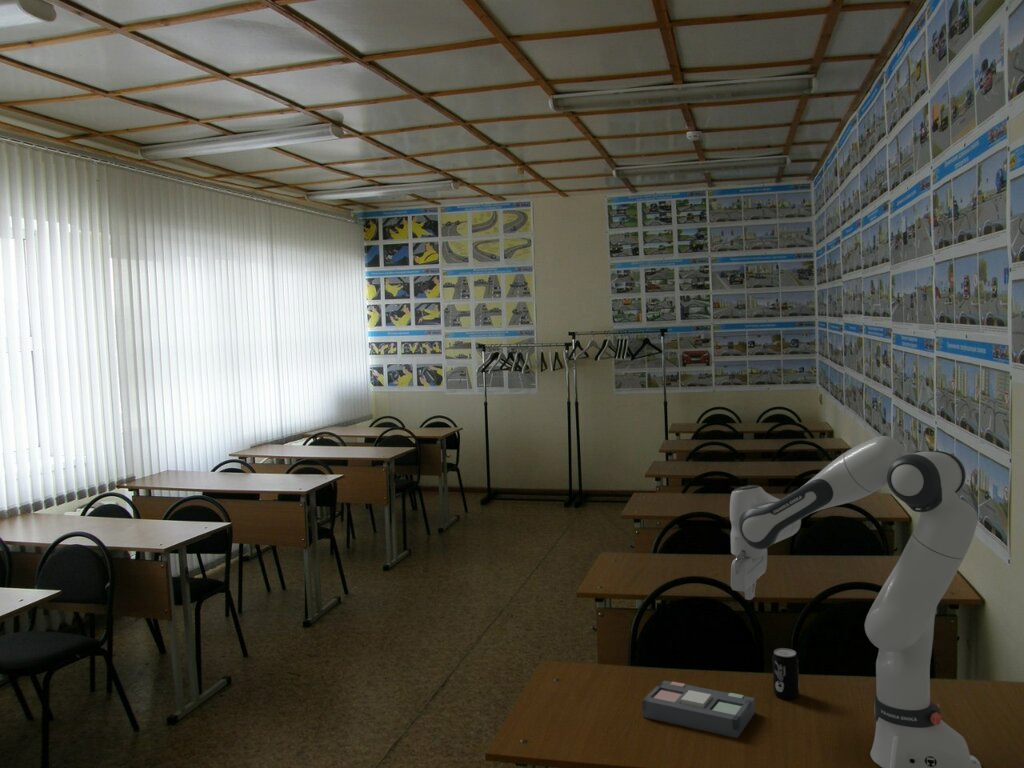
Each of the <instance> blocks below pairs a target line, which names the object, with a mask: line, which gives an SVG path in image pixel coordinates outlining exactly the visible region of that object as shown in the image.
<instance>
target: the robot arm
mask: <svg viewBox="0 0 1024 768" xmlns="http://www.w3.org/2000/svg"><path fill="white" fill-rule="evenodd" d="M966 477H967V474H966V469H965V466H964V464H963V462H962V461H961V460H960V459H959V458H958V457H956V456H955V455H953V454H952V453H949V452H945V451H942V450H941V451H940V450H916V451H914V452H913V453H911V452H909V451H907V450H906V449H905V447H904V446H903V445H902V444H901V443H900V441H898V440H897V439H896V438H893V437H891V436H888V435H880V436H876V437H874V438H871V439H869V440H866V441H864V442H862V443H861V442H860V444H857V445H856V446H854V447H851V448H850V449H848V450H847V451H845V452H844V453H841V455H839V456H838V457H836V458H835V459H833V460H832V461H831V462H830V463H828V464H827V465H826V466H825V467H824V468H823V469H822V470H820V471H818V473H817V474H816V475H814V476H813V477H812V478H811V479H809V480H808V481H807V482H806V483H805V484H803V485H802V486H800V487H799V488H797V489H796V490H794V491H792V492H791V493H789V494H788V495H786V496H784V497H782V498H777V497H775V496H773V495H772V494H770V493H768V492H766V491H765V490H764V488H763V487H761V486H760V485H754V484H752V485H750V484H749V485H745V486H740V487H737V488H735V489H734V490H732V491H731V494H730V501H729V521H730V524H731V530H730V553H731V555H733V556H735V558H734V559H733V560H732V563H731V565H730V566H731V567H730V587H731V590H732V591H736V592H744V599H745V600H748V601H751V600H753V598H754V597H755V596H756V595H755V594H756V592H755V591H756V587H757V586H756V585H757V580H758V579H759V578H761V576H762V575H764V574H765V573H766V571H767V567H768V548H769V547H770V546H772V545H774V544H776V543H779V542H781V541H783V540H786V539H788V538H790V537H792V536H795V534H797V533H798V532H799V531H800V529H801V526H802V519H803V518H805V517H807V516H809V515H810V514H813V513H815V512H818V511H822V510H825V509H828V508H829V509H830V508H832V507H833V508H834V507H838V506H841V505H846V504H849V503H852V502H855V501H858V500H861V499H863V498H867V496H869V495H872V494H873V493H875V492H877V491H879V490H880V489H882V488H884V487H886V486H888V488H889V490H890V491H891V493H892V494H893V495H894V496H895V497H896V498H898V499H899V500H900V501H902V502H903V503H905V505H907V506H908V507H909V508H910V509H911V510H912V511H914V512H916V513H920V514H919V519H918V521H917V523H916V525H915V527H914V529H913V531H912V533H911V535H910V537H909V538H908V541H907V543H906V545H905V547H904V549H903V551H902V553H901V555H900V557H899V559H898V561H897V562H896V564H895V566H894V568H893V569H892V571H891V573H890V574H889V575H888V577H887V579H886V580H885V582H884V584H883V585H882V587H881V589H880V591H879V592H878V594H877V596H876V597H875V600H874V602H873V603H872V604H871V607H870V608H869V611H868V613H867V614H866V618H865V621H864V631H865V635H866V636H867V638H868V639H869V642H871V644H873V646H874V647H876V648H878V653H877V657H876V661H875V675H876V676H875V678H876V679H875V680H876V681H875V683H876V694H875V696H874V701H873V705H874V707H873V709H874V718H875V722H876V723H875V731H874V732H875V733H874V737H873V738H874V739H873V743H872V746H871V747H872V748H871V750H870V757H871V759H872V761H873V762H874V763H875V764H876V765H878V766H879V767H881V768H982V764H981V763H980V760H979V759H977V757H975V756H974V755H971V754H970V749H969V745H968V743H967V741H966V739H965V738H964V737H963V735H961V734H960V733H959V732H957V731H956V730H955V729H954V728H952V727H951V726H950V725H948V724H947V723H946V722H944V721H943V720H942V715H941V713H942V711H941V705H940V703H939V702H937V704H935V703H934V702H933V701H931V680H930V679H931V678H930V677H931V675H930V674H931V672H930V671H931V661H932V660H931V659H932V653H933V651H932V650H933V642H934V634H935V633H934V632H935V630H934V629H935V628H934V627H935V618H936V611H937V610H936V608H937V607H938V606H939V604H940V601H941V600H942V598H944V596H945V594H946V592H947V591H948V589H949V587H950V585H951V583H952V582H953V580H954V578H955V576H956V574H957V572H958V570H959V568H960V566H961V565H962V562H963V560H964V559H965V557H966V555H967V553H968V551H969V548H970V547H971V544H972V542H973V538H974V536H975V534H976V533H975V532H976V531H977V530H976V529H977V526H978V521H979V519H978V517H979V516H978V513H977V511H976V510H975V508H974V507H973V506H972V505H970V503H968V502H967V501H965V500H963V499H961V498H960V497H959V495H957V493H959V492H960V490H961V489H962V488H963V487H964V484H965V482H966V479H967V478H966Z"/></svg>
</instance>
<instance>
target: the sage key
mask: <svg viewBox="0 0 1024 768" xmlns="http://www.w3.org/2000/svg"><path fill="white" fill-rule="evenodd" d="M741 707H742V706H738V705H733V704H728V703H723V702H718V703H717V705H716V706H715V707H714V708H713V709H712V710H714V711H719V712H723V713H728V714H733V715H736V714H737V712H738V711H739V710H740V708H741Z"/></svg>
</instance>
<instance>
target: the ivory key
mask: <svg viewBox="0 0 1024 768" xmlns="http://www.w3.org/2000/svg"><path fill="white" fill-rule="evenodd" d="M710 701H711V694H706V693H701V692H696V691H691V690H689V691H688V692H687V693H686V694H685V695H684V696H683V697H682V698H681V704H685V705H690V706H695V707H700V708H705V707H706V706H707V705H708V704H709V702H710Z"/></svg>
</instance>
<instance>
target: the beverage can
mask: <svg viewBox="0 0 1024 768" xmlns="http://www.w3.org/2000/svg"><path fill="white" fill-rule="evenodd" d="M772 679H773V680H772V683H773V685H772V686H773V693H774V694H775V696H776V697H777V698H779V699H782V700H788V701H789V700H794V699H797V698H798V696H799V695H800V681H799V658H798V656H797V651H795V650H793V649H791V648H785V647H780V648H776V649H774V651H773V654H772Z"/></svg>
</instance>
